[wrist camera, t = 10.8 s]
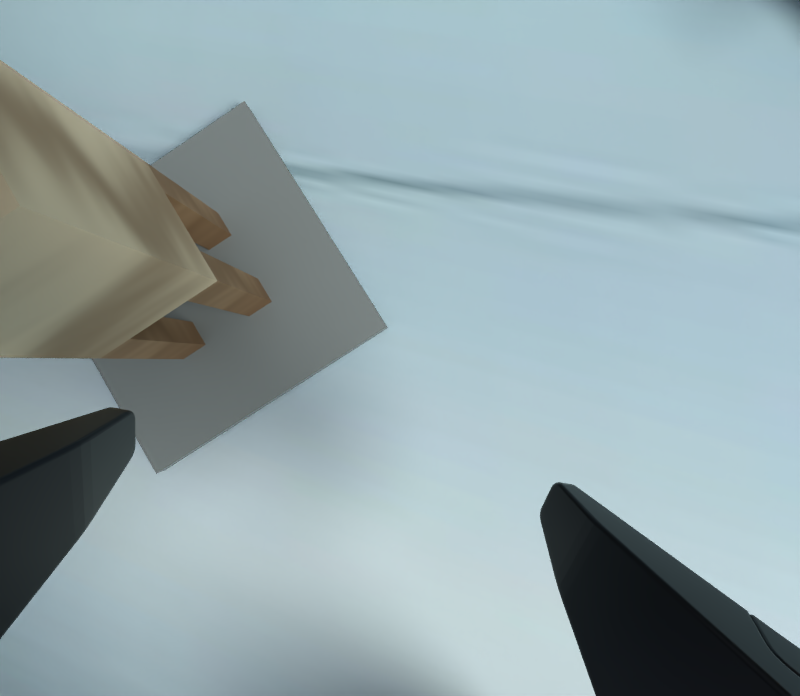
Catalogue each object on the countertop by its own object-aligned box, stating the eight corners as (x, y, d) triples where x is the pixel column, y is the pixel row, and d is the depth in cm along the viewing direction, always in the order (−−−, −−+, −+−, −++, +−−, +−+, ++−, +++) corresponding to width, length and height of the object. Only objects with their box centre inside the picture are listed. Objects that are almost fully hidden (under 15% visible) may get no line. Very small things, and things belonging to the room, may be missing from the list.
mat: (387, 327, 20) (386, 326, 19) (164, 470, 20) (156, 473, 20) (249, 108, 21) (244, 100, 20) (41, 251, 21) (29, 247, 21)
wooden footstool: (271, 301, 19) (19, 205, 7) (183, 359, 20) (-198, 355, 8) (217, 212, 20) (-104, -13, 8) (131, 270, 20) (-307, 137, 8)
